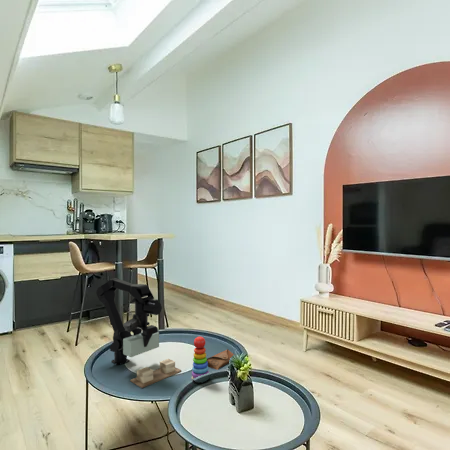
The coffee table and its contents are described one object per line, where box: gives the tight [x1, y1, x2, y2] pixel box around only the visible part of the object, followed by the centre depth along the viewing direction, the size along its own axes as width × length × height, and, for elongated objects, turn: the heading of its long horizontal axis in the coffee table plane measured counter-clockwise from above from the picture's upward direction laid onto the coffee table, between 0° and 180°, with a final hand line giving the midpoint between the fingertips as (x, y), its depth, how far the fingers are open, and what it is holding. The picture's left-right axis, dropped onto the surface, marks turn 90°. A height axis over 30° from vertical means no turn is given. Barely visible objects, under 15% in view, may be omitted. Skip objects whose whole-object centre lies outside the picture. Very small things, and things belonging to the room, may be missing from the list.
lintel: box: [123, 331, 160, 358], centre depth 156 cm, size 6×16×7 cm, turn 141°
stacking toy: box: [191, 336, 210, 380], centre depth 144 cm, size 8×8×19 cm
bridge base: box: [129, 358, 182, 389], centre depth 148 cm, size 9×21×5 cm, turn 137°
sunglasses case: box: [206, 348, 235, 371], centre depth 163 cm, size 18×7×7 cm
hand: (141, 345), depth 156 cm, fingers closed on lintel, 6 cm apart
